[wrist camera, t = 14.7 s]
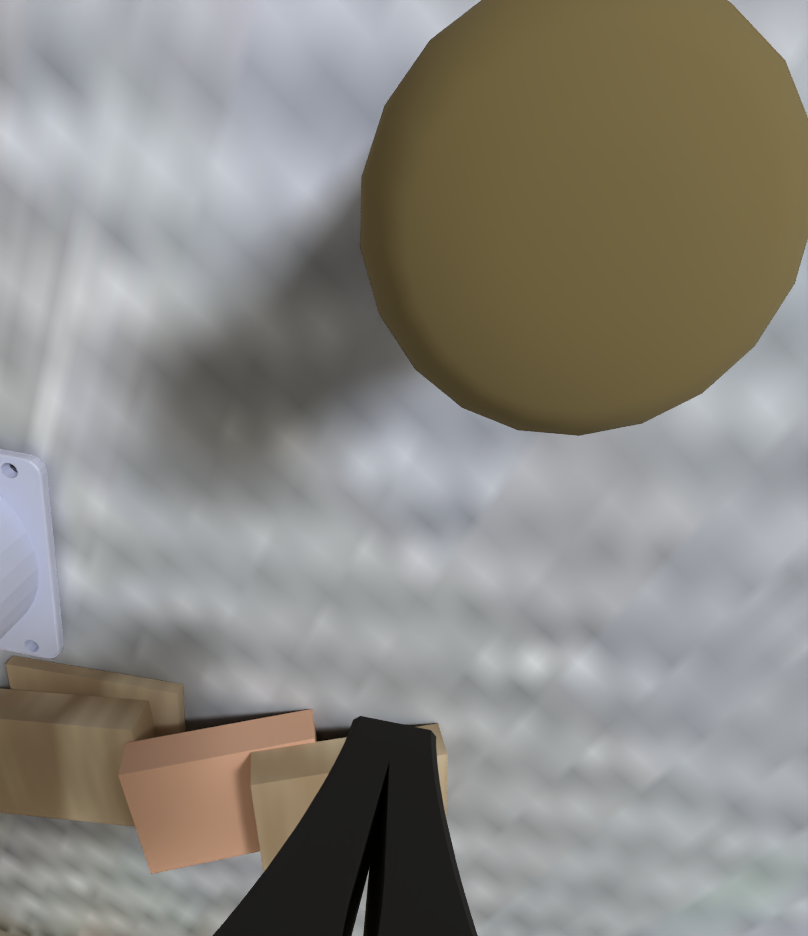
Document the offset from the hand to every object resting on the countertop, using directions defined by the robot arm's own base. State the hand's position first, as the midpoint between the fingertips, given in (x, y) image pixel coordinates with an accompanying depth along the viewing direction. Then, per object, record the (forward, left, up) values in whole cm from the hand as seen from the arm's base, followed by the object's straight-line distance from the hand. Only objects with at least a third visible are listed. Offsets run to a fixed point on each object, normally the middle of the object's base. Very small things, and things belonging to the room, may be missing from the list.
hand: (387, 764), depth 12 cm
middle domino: (-8, -13, -9) cm, 18 cm away
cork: (+1, +9, -10) cm, 14 cm away
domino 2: (-2, -12, -9) cm, 15 cm away
